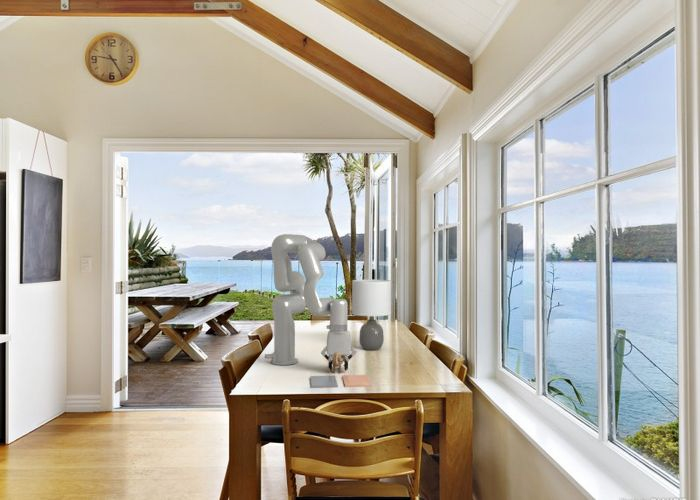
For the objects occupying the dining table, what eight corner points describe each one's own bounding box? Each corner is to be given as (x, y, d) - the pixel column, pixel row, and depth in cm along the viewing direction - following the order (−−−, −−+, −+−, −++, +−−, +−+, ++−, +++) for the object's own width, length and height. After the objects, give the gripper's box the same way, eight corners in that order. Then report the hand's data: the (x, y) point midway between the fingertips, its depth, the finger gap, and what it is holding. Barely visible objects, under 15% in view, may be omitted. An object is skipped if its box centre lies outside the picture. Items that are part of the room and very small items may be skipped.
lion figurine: (342, 375, 208) (342, 354, 209) (329, 374, 210) (330, 353, 210) (349, 367, 223) (349, 347, 223) (337, 367, 224) (338, 347, 224)
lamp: (345, 347, 271) (345, 280, 271) (377, 344, 281) (377, 279, 281) (364, 354, 253) (365, 282, 253) (398, 350, 263) (398, 281, 263)
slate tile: (311, 389, 189) (311, 386, 189) (310, 378, 205) (310, 375, 205) (337, 388, 190) (337, 385, 190) (334, 378, 206) (334, 375, 206)
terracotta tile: (345, 388, 191) (345, 385, 191) (342, 378, 207) (342, 375, 207) (371, 388, 191) (371, 385, 191) (366, 377, 207) (366, 374, 207)
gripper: (318, 329, 210) (318, 372, 210) (359, 329, 212) (359, 372, 212) (318, 326, 218) (318, 368, 218) (357, 326, 219) (357, 367, 219)
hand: (338, 369), depth 215 cm, fingers closed on lion figurine, 5 cm apart
